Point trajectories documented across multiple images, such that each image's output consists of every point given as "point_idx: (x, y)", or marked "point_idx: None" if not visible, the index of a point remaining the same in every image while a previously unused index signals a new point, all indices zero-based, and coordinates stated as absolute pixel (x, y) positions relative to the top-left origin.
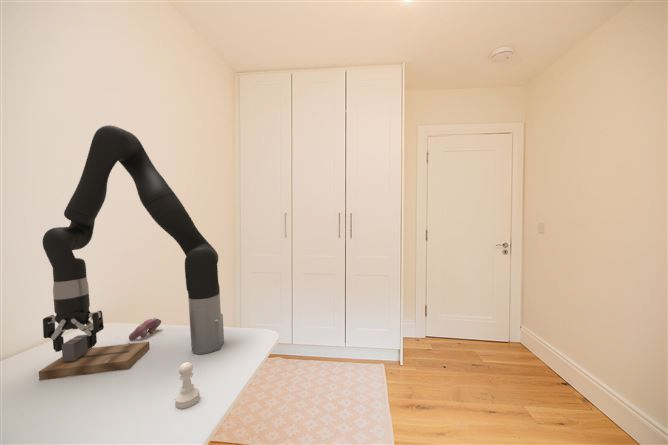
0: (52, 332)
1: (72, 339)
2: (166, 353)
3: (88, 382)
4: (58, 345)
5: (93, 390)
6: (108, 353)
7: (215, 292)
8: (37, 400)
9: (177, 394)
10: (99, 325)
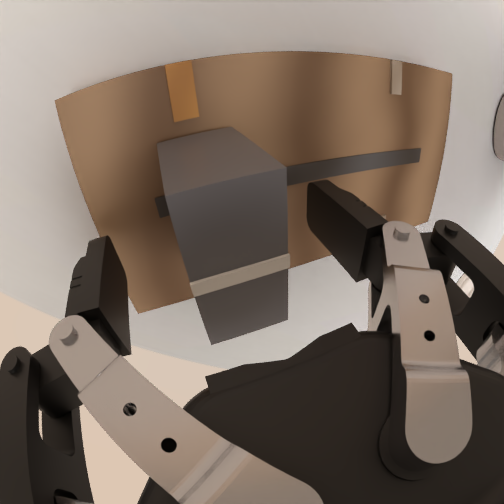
0: (48, 395)
1: (217, 285)
2: (463, 126)
3: (334, 270)
4: (125, 304)
5: (361, 290)
6: (356, 160)
7: None
8: (254, 338)
9: (463, 291)
10: (463, 260)
